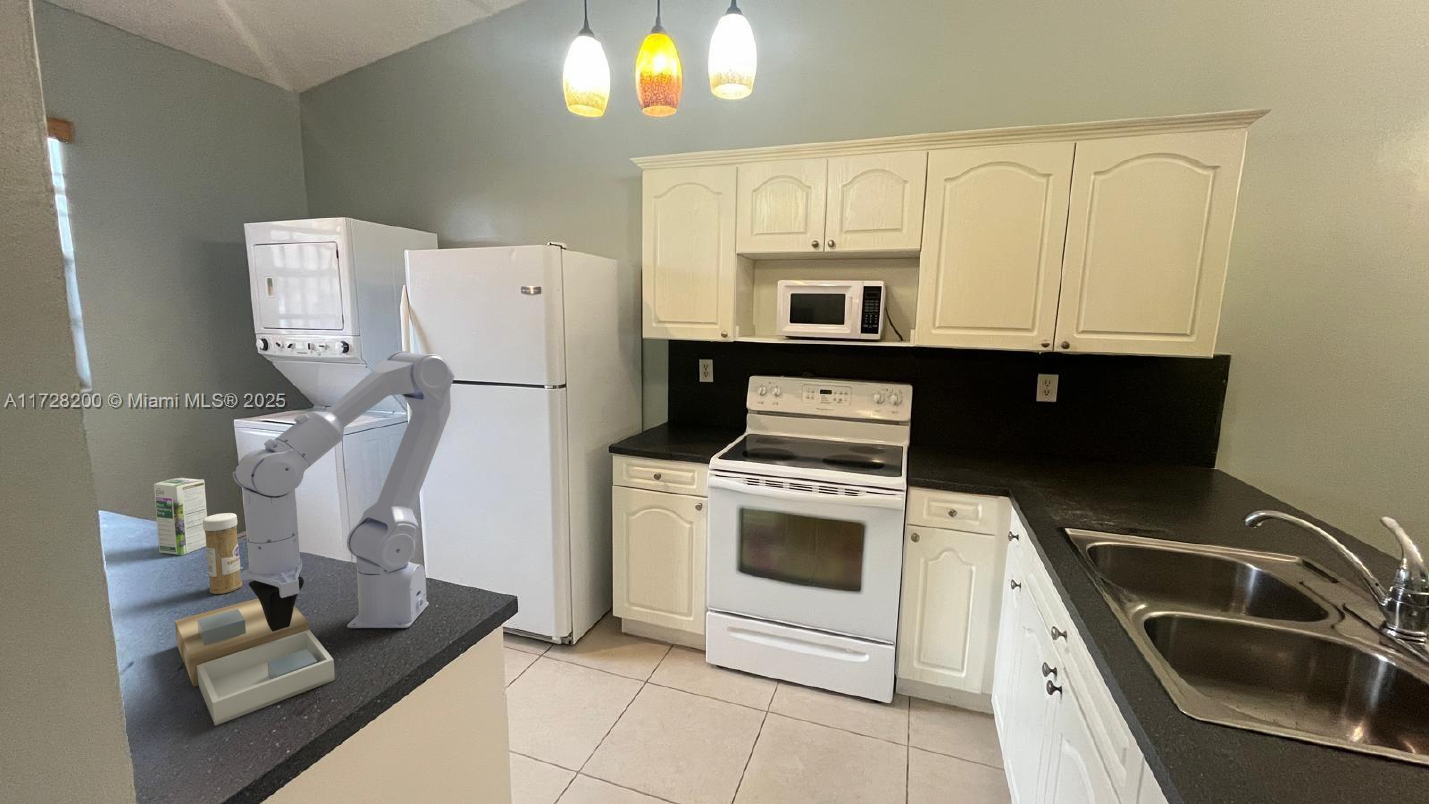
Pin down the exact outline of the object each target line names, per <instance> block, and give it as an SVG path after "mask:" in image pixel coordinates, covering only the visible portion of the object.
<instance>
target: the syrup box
mask: <svg viewBox="0 0 1429 804" xmlns="http://www.w3.org/2000/svg"><path fill="white" fill-rule="evenodd" d="M205 483H206V482H205V479H201V478H200V479H199V478H198V479H197V478H186V477H178V478H171V479H166V480H163V481H159V482H156V483H154V484H153V492H154V502H155V503H154V506H155V513H156V516H155V517H156V526H157V527H156V529H157V537H158V539H157V540H158V551H159V554H171V555H178V556H184V555H187V554H189V553H191V552H195V551H197V550H200V549H203V548H206V537H205V530H204V529H203V519H204V518H206V517H208V511H207V499H206V485H205Z"/></svg>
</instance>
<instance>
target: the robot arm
mask: <svg viewBox="0 0 1429 804" xmlns="http://www.w3.org/2000/svg"><path fill="white" fill-rule="evenodd" d="M454 379H455V374H454V372H453V371H452V369H451V367H450V364H449V363H448V361H447V360H446V359H445V358H444V357H443V356H441V355H439V354H436V353H426V354H425V353H415V352H408V351H405V350H403V351H402V350H399V351H396V352H393V353H391V354H390V355H389V356H387V358H386V359H383V360H382V361H380V362H378V363H376V365H375V367H374V368H373V369H372V371H370V373H369V374H367V375H366V376H364V378H362V380H360V381H359V382H358V383H357V384H356V385H355V386H353V387H352V388H351V389H350V390H349V391H348V392H346V393H345V394H344V395H343V396H341V398H339V399H338V400H337V401H336V402H334V404H333V405H330V407H329V408H328V409H327V410H325V411H310V412H309V413H307V414H305V413H304V414H303V413H300V414H299V415H297V416H296V417H295V418H294V419H293V421H294V422H295V423H294V424H293V425H291V426H290V427H289V428H288V429H286V430H285V431H283V432H282V433H281V434H280V435H278V436H277V437H276V438H274V439H268V440H266V441H265V442H264V443H263V445H264V446H265V447H264V448H260V449H258V450H252V451H250V452H248V453H246V454H245V455H244V456H242V457H241V459H239V461H238V465H236V468H235V471H233V472H232V477H233V480H234V481H235V483H236V484H237V485H239V487H241V488H242V489H243V490H242V492H243V503H244V507H243V511H244V522H245V533H246V534H245V535H246V547H247V548H246V549H247V558H248V569H246V570H240V572H239V573H238V578H239V579H240V580H241V582H242V581H243V582H244V581H247V580H252V581H250V582H248V587H249V588H250V589H251V590H252V592H253V593H254V594H255V595H256V596H257V598H258V599H259V601H260V603H261V606H262V608H263V611H264V615H265V618H266V621H267V623H268V626H269V627H270V629H271V630H272V631H277V630H280V629H283V628H286V627H289V626H290V623H291V619H292V614H293V609H294V606H295V604H296V601H297V598H298V595H299V594H300V591H301V589H302V588H303V586H304V583H305V580H304V578H303V577H302V576H300V575H301V574H300V573H301V570H302V568H303V560H302V559H301V555H300V554H301V552H300V540H299V539H300V538H299V527H298V525H299V524H298V512H297V500H296V489H297V488H298V487H299V486H300V485H301V483H302V481H303V479H304V474H305V472H306V470H308V469H309V468H310V467H311V466H313V464H315V463H316V462H317V461H318V460H320V459H321V458H322V457H323V456H324V455H326V454H327V453H328V452H330V451H331V450H332V449H333V448H335V446H337V445H338V444H339V443H340V442H341V441H342V440H343V439H344V431H345V428H346V427H347V426H348V425H350V424H351V423H352V422H354V421H355V420H357V419H358V418H359V417H361V416H362V415H363V414H365V413H366V412H368V411H369V410H370V409H372V408H374V407H375V406H376V405H377V404H379V403H380V402H382V401H383V400H384V399H386V398H387V397H389V396H398V395H401V396H402V397H404V400H405V401H406V403H407V405H408V406H409V407H410V408H409V409H411V412H412V413H411V416H410V418H409V421H408V423H407V426H406V429H405V431H404V434H403V436H402V438H401V441H400V443H399V445H398V449H397V451H396V453H395V456H394V458H393V461H392V464H391V466H390V469H389V471H388V474H387V475H386V479H385V481H384V484H383V485H382V489H381V491H380V494H379V497H378V498H377V501H376V502H375V503H374V504H372V505H371V506H369V507H368V508H367V509H366V510H364V511H363V513H362V516H361V518H360V519H359V521H358V523H357V524H356V525H354V526H353V528H351V530H350V532H349V533H348V535H347V540H346V547H347V550H348V551H349V553H350V554H351V555H352V556H354V557H355V559H356V562H355V563H356V566H355V567H356V580H357V583H356V585H357V598H358V599H357V601H358V614H357V615H356V616H355V617H354V618H353V619H352V620H351V621H350V622H349V623H347V629H396V628H397V629H404V628H405V629H406V628H409V627H411V625H412V624H414V622H415V621H416V619H418V617H419V616H420V615H421V613H423V612H424V610H425V609H426V608H427V607H428V606H429V602H428V601H427V600H428V599H427V576H426V569H425V567H424V566H423V565H422V564H419V563H413V562H412V561H411V559H412V558H413V556H414V553H415V551H416V547H417V546H416V535H417V532H418V529H419V523H418V520H417V518H416V517H415V516H416V515H415V514H414V509H415V506H416V503H417V500H418V497H419V495H420V493H421V490H422V488H423V485H424V483H425V479H426V477H427V474H428V471H429V469H430V466H431V464H432V462H433V459H434V456H435V453H436V451H437V448H438V446H439V443H440V440H441V438H442V435H443V432H444V431H445V430H444V429H445V427H446V425H447V421H448V420H449V417H450V414H451V407H452V405H451V387H452V384H453V382H454ZM410 561H411V562H410Z"/></svg>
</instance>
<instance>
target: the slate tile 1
mask: <svg viewBox="0 0 1429 804" xmlns="http://www.w3.org/2000/svg"><path fill="white" fill-rule="evenodd" d="M197 623H198V633H199V635H200V638H201V640H202V642H203V644H204V645H207V644H211V643H214V642H217V641H221V640H224V639H227V638H231V637H234V636H237V635H241V634H244V633H246V626H245V619H244V617H243V616H242V614H241V613H240V611H239V610H238V609H235V610H231V611H228V612H224V613H220V614H217V615H213V616H209V617H206V618H202V619H199V620H197Z"/></svg>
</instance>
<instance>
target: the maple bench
mask: <svg viewBox="0 0 1429 804" xmlns="http://www.w3.org/2000/svg"><path fill="white" fill-rule="evenodd" d="M235 609H238V610H239V611H240V613H241V614H242V616H243V617H244V619H245V626H246V633H244V634H241V635H237V636H234V637H231V638H227V639H224V640H221V641H217V642H214V643H211V644H207V645H204V644H203V642H202V640H201V638H200V635H199V633H198V623H197V620H199V619H202V618H206V617H209V616H213V615H217V614H220V613H224V612H228V611H231V610H235ZM174 624H175V635H176V636H175V637H176V643H177V644H176V645H177V648H178V651H179V653H180V656H181V659H182V661H183V664H184V666H185V668H186V671H187V674H188V676H189V679H190V681H191V684H192V686H193V688H194V687H199V684H198V673H197V665H199V664H202V663H206V662H209V661H212V660H215V659H218V658H221V657H224V656H228V655H231V654H234V653H237V652H240V651H243V650H247V649H250V648H253V647H256V646H259V645H262V644H265V643H269V642H272V641H275V640H278V639H281V638H284V637H287V636H291V635H294V634H297V633H300V632H303V631H306V630H310V626H309V625H310V624H309V621H308V619H306V617H305V616H304V615H303V614H302V613H301V612H300V611H299V609H298V608H297V607H296V605H294V609H293V614H292V619H291V623H290V626H289V627H286V628H283V629H280V630H277V631H272V630H271V629H270V627H269V626H268V623H267V621H266V618H265V615H264V611H263V608H262V606H261V603H260V601H259V599H258V597H257V598H254V599H250V600H247V601H242V602H239V603H235V604H231V605H228V606H224V607H221V608H217V609H213V610H210V611H205V612H202V613H198V614H195V615H194V614H193V615H191V616H186V617H183V618H179V619H175V620H174Z"/></svg>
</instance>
